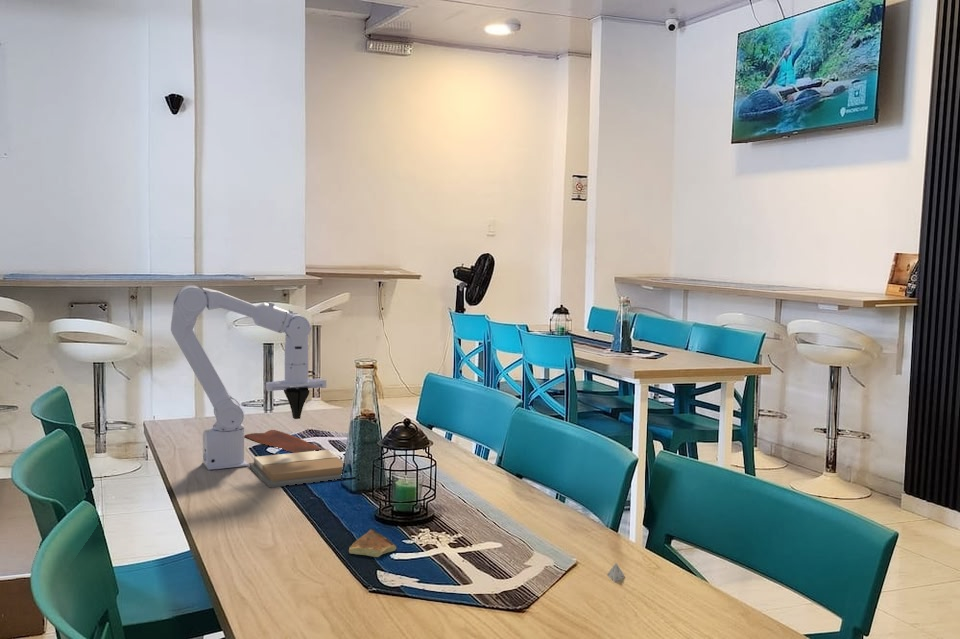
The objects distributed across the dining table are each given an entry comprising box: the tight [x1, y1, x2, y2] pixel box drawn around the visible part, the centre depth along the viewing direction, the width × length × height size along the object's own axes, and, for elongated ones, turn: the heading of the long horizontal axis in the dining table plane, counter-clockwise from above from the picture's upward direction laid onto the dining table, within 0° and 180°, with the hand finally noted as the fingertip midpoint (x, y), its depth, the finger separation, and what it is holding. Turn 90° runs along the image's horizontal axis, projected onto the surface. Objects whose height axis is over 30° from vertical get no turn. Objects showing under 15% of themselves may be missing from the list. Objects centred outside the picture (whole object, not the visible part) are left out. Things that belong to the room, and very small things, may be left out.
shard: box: [348, 528, 397, 558], centre depth 160 cm, size 11×8×2 cm
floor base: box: [248, 457, 344, 489], centre depth 207 cm, size 20×19×2 cm
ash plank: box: [253, 449, 339, 471], centre depth 211 cm, size 18×8×2 cm, turn 118°
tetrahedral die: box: [606, 562, 626, 583], centre depth 148 cm, size 4×3×3 cm
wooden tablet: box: [244, 429, 322, 453], centre depth 234 cm, size 27×10×2 cm, turn 44°
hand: (296, 418), depth 217 cm, fingers closed
